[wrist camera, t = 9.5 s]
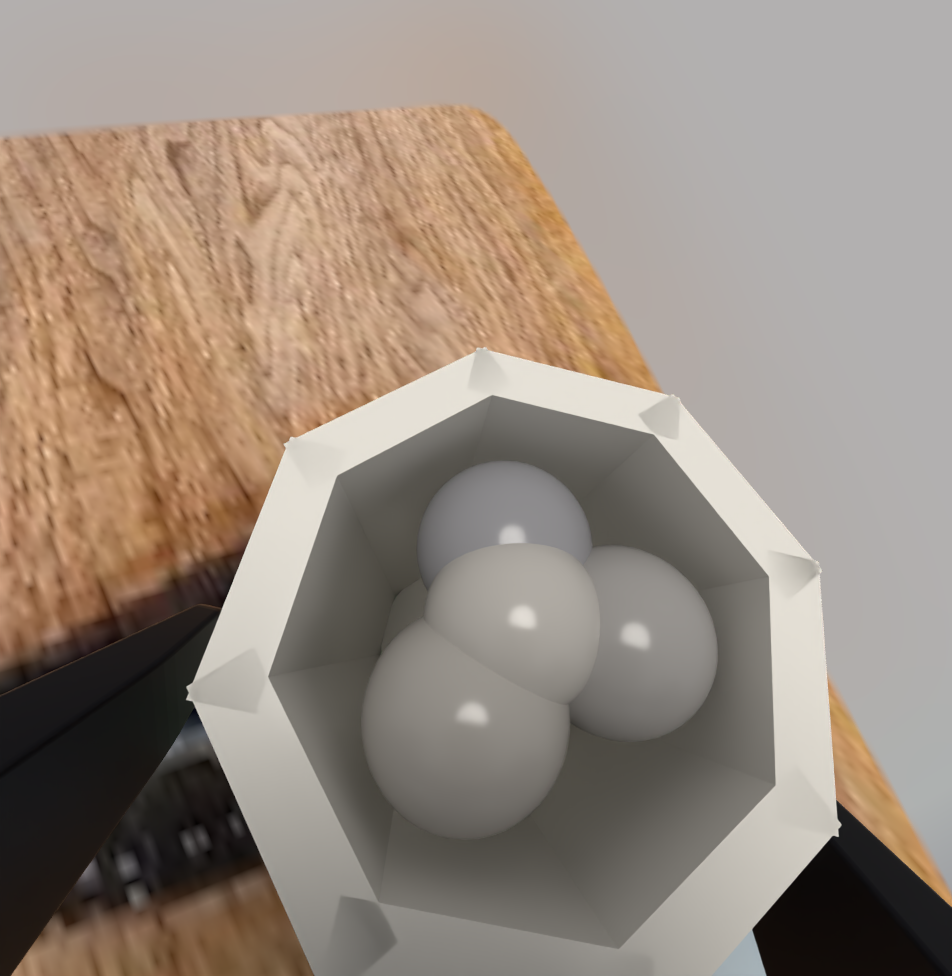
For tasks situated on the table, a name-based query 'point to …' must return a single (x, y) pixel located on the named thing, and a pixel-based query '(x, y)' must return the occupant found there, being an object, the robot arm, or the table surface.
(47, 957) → the table surface
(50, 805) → the robot arm
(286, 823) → the pebble cup
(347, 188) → the table surface
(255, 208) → the table surface
